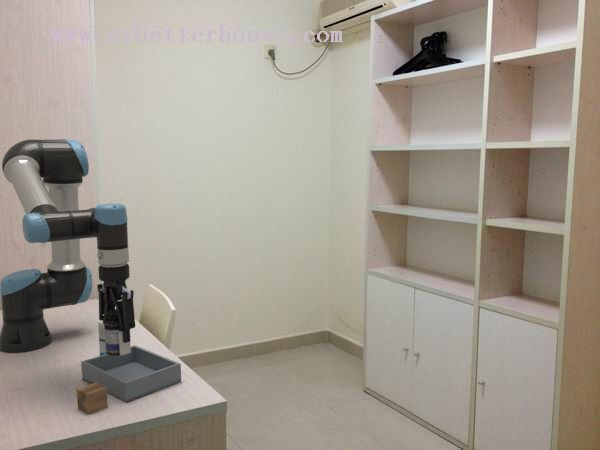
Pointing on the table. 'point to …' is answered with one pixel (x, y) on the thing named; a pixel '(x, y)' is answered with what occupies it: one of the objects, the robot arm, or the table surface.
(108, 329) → the pill bottle
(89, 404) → the walnut cube
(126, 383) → the tote
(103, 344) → the ink box
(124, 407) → the table surface
